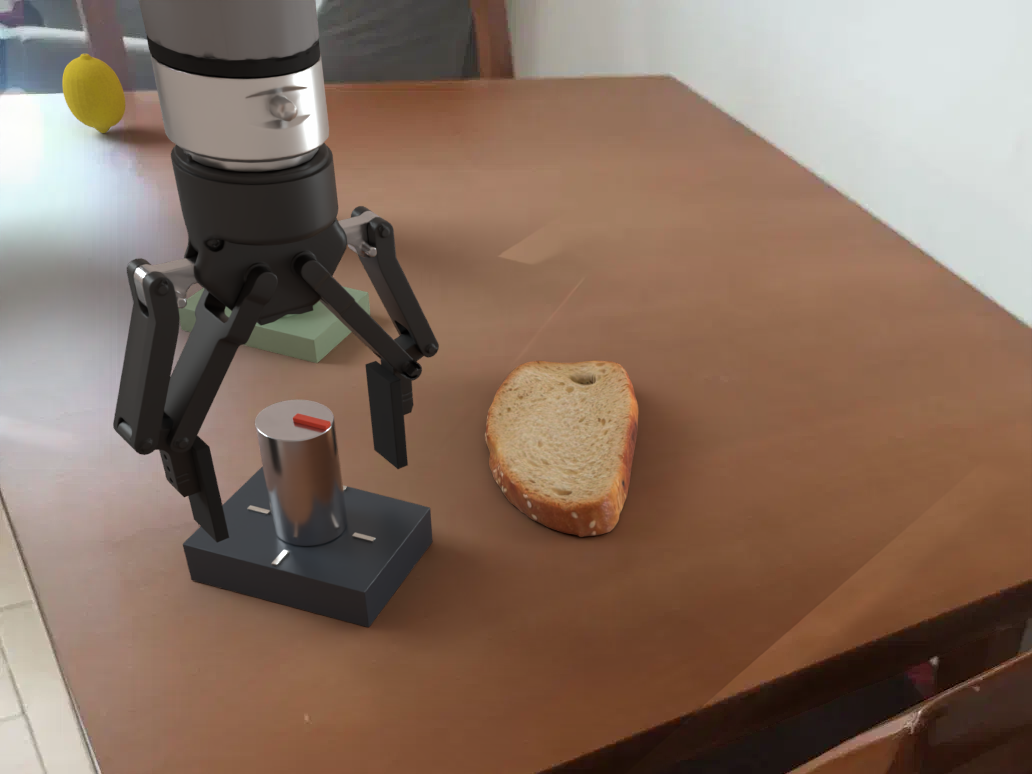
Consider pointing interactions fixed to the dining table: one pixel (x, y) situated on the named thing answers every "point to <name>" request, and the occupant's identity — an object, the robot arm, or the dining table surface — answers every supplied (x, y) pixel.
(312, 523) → the metal dial knob
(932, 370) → the dining table surface
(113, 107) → the lemon
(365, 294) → the button block
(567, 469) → the slice of bread
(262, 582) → the panel
